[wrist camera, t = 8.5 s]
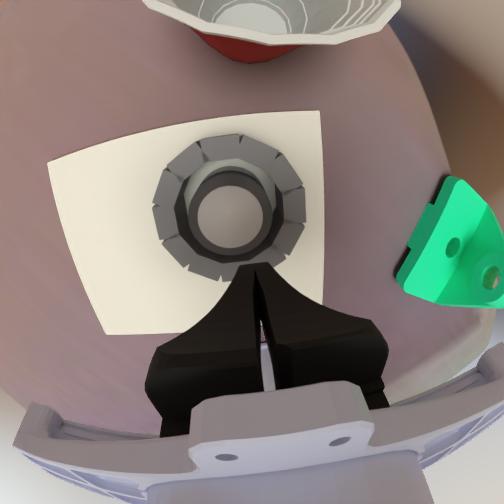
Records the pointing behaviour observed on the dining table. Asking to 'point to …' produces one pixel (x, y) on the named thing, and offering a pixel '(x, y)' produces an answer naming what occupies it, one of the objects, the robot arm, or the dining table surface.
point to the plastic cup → (276, 23)
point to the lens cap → (230, 211)
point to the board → (176, 216)
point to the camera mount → (456, 251)
